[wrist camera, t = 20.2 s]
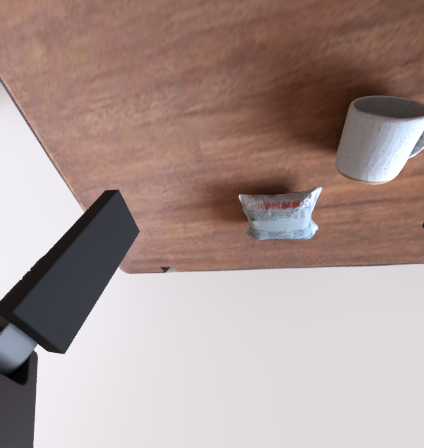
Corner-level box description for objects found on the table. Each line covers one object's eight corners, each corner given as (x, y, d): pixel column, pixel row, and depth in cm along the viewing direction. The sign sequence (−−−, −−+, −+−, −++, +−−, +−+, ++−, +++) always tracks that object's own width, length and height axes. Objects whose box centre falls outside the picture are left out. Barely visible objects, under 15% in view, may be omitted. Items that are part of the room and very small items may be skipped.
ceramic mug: (328, 159, 35) (339, 189, 30) (343, 95, 30) (361, 116, 24) (413, 160, 34) (443, 192, 28) (445, 92, 28) (490, 113, 23)
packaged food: (240, 186, 41) (237, 204, 37) (320, 180, 38) (325, 199, 34) (246, 227, 46) (244, 246, 42) (317, 225, 43) (321, 245, 39)
